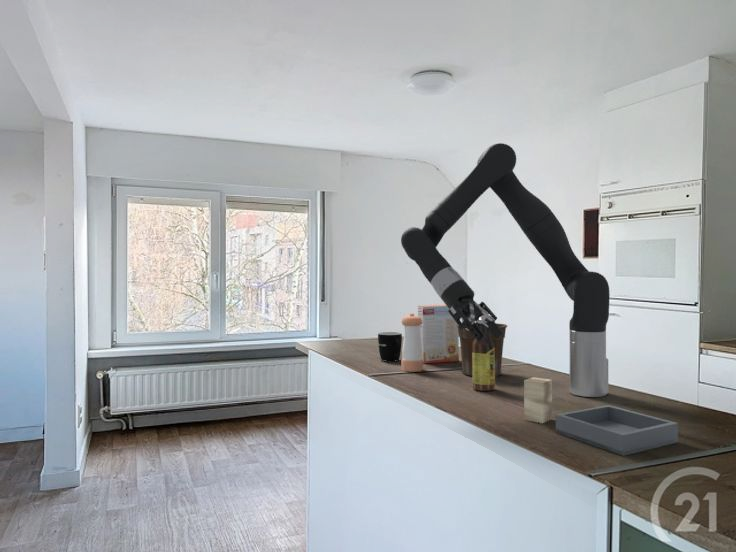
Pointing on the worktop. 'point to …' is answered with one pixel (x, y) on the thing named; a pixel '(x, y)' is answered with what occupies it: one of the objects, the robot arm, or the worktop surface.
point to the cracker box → (438, 334)
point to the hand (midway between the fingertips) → (491, 337)
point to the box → (617, 429)
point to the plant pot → (467, 349)
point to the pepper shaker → (412, 344)
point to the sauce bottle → (483, 361)
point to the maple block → (538, 400)
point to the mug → (390, 345)
